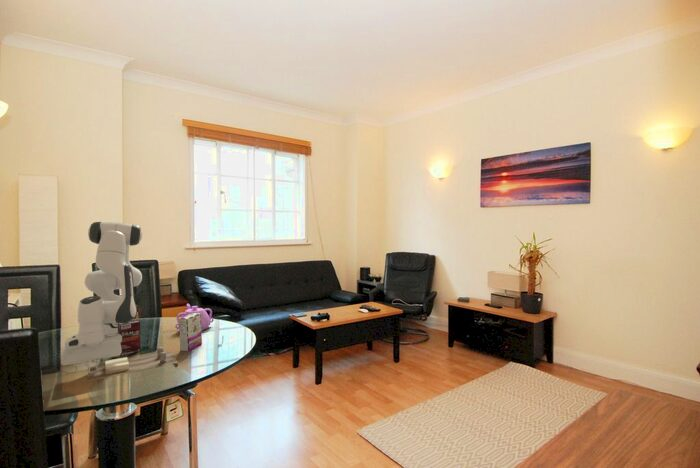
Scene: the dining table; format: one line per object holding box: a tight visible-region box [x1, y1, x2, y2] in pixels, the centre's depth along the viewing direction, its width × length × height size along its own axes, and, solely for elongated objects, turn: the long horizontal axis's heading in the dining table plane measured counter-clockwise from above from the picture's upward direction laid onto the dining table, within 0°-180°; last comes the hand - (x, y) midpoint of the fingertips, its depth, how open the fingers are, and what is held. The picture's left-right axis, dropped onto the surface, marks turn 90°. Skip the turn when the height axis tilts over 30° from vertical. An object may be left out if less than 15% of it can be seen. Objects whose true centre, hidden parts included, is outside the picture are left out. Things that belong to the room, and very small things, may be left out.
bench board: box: [87, 346, 179, 383], centre depth 156 cm, size 18×32×6 cm, turn 125°
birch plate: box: [104, 356, 129, 374], centre depth 153 cm, size 10×8×2 cm
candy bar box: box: [178, 313, 203, 352], centre depth 182 cm, size 11×5×16 cm, turn 168°
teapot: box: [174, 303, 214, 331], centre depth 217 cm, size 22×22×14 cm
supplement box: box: [118, 319, 141, 356], centre depth 173 cm, size 9×5×16 cm, turn 136°
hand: (93, 370), depth 148 cm, fingers closed
